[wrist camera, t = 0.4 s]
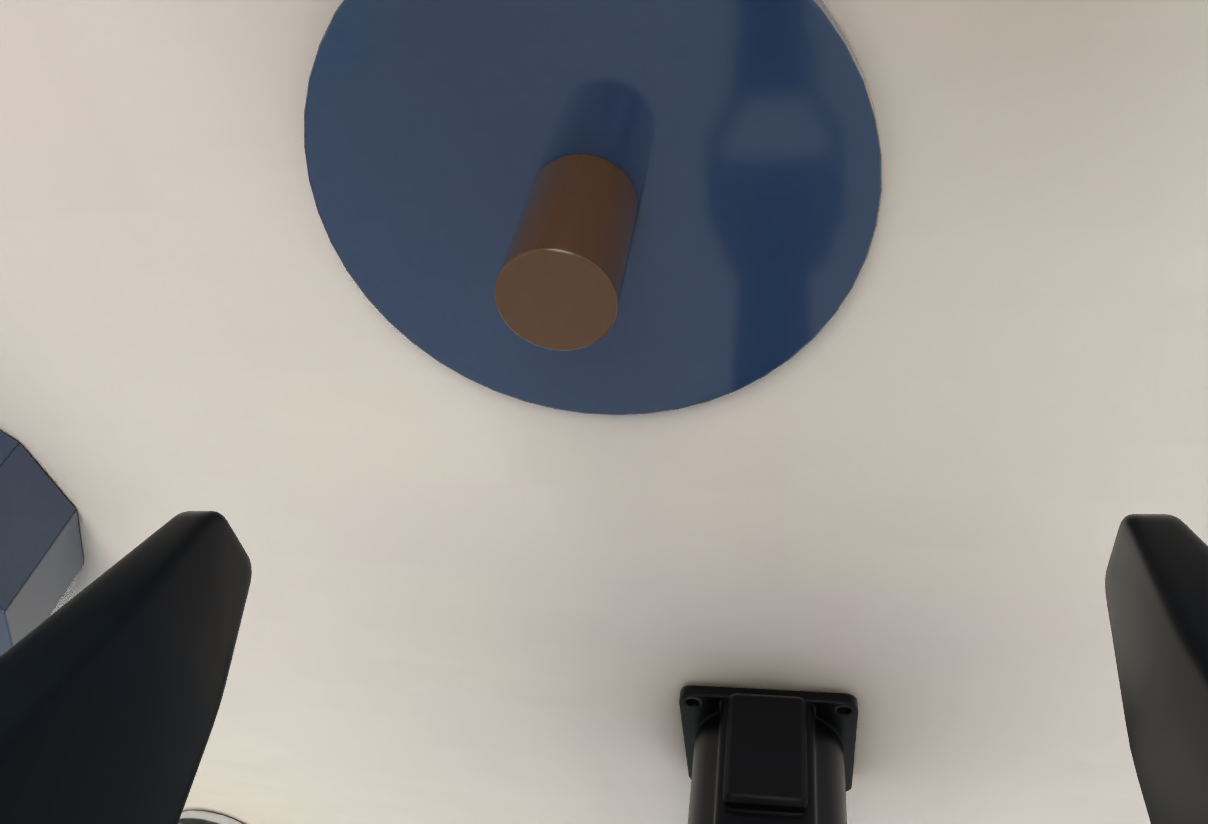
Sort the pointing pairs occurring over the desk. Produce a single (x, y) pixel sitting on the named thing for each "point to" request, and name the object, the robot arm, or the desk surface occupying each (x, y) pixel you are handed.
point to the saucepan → (32, 544)
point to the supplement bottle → (204, 818)
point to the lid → (596, 187)
